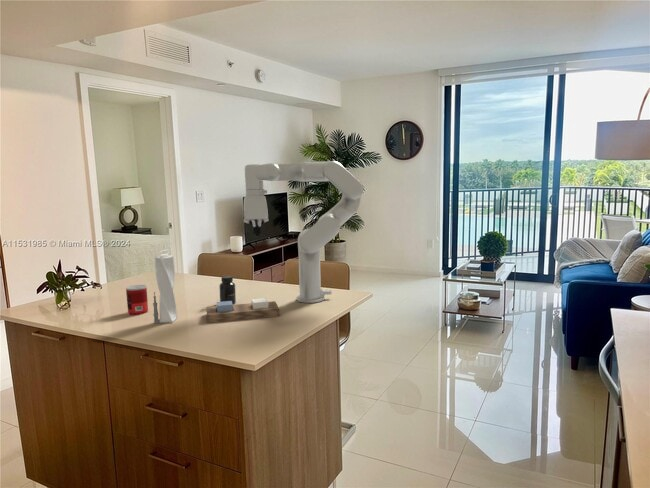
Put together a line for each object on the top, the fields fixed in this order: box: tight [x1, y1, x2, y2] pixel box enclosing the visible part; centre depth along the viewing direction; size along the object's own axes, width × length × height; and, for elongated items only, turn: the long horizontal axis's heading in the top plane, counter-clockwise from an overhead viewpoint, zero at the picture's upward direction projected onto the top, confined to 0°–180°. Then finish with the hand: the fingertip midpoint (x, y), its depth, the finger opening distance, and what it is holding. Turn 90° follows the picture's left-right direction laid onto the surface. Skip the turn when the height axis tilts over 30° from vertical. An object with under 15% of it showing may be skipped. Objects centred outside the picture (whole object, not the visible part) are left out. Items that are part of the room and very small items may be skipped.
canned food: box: [125, 284, 149, 316], centre depth 199 cm, size 8×8×11 cm
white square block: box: [251, 297, 269, 309], centre depth 193 cm, size 6×6×3 cm
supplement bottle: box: [218, 275, 237, 305], centre depth 209 cm, size 7×7×12 cm
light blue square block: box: [216, 301, 234, 312], centre depth 190 cm, size 6×6×3 cm
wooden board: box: [206, 301, 281, 324], centre depth 192 cm, size 28×12×3 cm, turn 104°
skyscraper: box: [152, 249, 178, 325], centre depth 186 cm, size 8×8×28 cm
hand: (257, 235), depth 208 cm, fingers closed
